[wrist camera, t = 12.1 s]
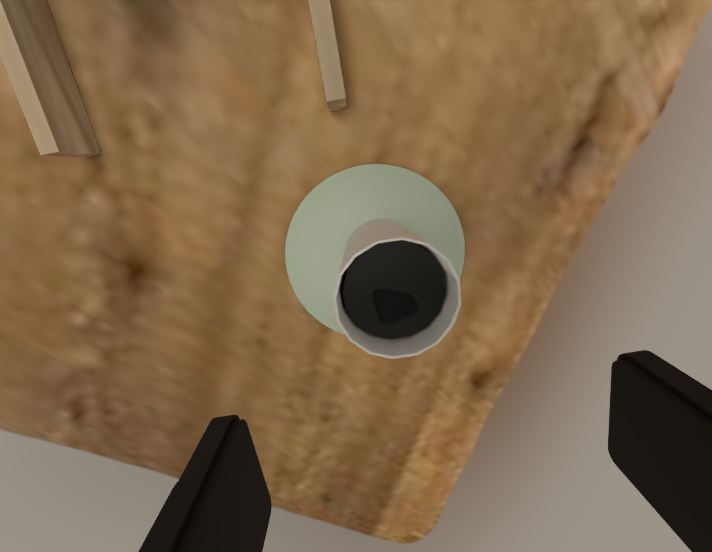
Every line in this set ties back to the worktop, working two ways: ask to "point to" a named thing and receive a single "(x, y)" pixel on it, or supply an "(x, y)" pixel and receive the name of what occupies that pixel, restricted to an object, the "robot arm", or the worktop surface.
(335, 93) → the frame
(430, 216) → the disc
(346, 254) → the white coffee cup
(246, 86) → the worktop surface
